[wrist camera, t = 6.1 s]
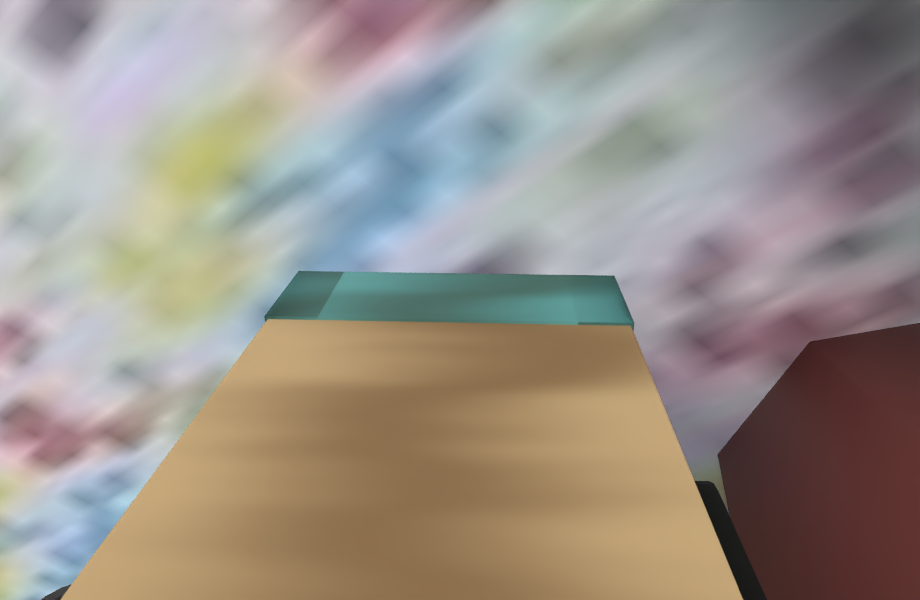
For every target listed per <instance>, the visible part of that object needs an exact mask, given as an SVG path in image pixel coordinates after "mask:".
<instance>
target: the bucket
mask: <svg viewBox="0 0 920 600" xmlns="http://www.w3.org/2000/svg"><path fill="white" fill-rule="evenodd" d="M718 458H719V463H720V468H721V474H722V479H723V484H724V489H725V494H726V499H727V504H728V509H729V514H730V519H731V521H732V523H733V525H734V527H735V530H736V532H737V534H738V536H739V539H740V541H741V543H742V545H743V547H744V550H745V552H746V554H747V556H748V559H749V561H750V563H751V565H752V567H753V570H754V572H755V574H756V576H757V579H758V581H759V583H760V585H761V587H762V590H763V592H764V594H765V596H766V599H767V600H920V323H917V324H911V325H905V326H899V327H893V328H887V329H882V330H876V331H870V332H864V333H858V334H852V335H846V336H841V337H835V338H829V339H823V340H817V341H811V342H809V344H808V345H807V346H806V347H805V348H804V350H803V351H802V352H801V353H800V355H799V356H798V357H797V358H796V359H795V361H794V362H793V363H792V364H791V366H790V367H789V368H788V369H787V370H786V372H785V373H784V374H783V375H782V377H781V378H780V379H779V380H778V381H777V383H776V384H775V385H774V386H773V388H772V389H771V390H770V391H769V392H768V394H767V395H766V396H765V397H764V399H763V400H762V401H761V402H760V403H759V405H758V406H757V407H756V408H755V410H754V411H753V412H752V413H751V414H750V416H749V417H748V418H747V419H746V421H745V422H744V423H743V424H742V425H741V427H740V428H739V429H738V430H737V432H736V433H735V434H734V435H733V436H732V438H731V439H730V440H729V441H728V443H727V444H726V445H725V446H724V447H723V449H722V450H721V451H720V452H719V454H718Z"/></svg>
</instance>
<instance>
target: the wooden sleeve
mask: <svg viewBox="0 0 920 600" xmlns="http://www.w3.org/2000/svg"><path fill="white" fill-rule="evenodd" d="M633 329H634V321H633V319H632V317H631V314H630V312H629V310H628V307H627V305H626V302H625V300H624V298H623V295H622V293H621V291H620V288H619V286H618V284H617V281H616V279H615V277H614V276H595V275H527V274H458V273H389V272H320V271H298V273H297V274H296V275H295V277H294V278H293V279H292V281H291V282H290V283H289V285H288V286H287V287H286V289H285V290H284V291H283V293H282V294H281V295H280V297H279V298H278V299H277V300H276V302H275V303H274V304H273V306H272V307H271V308H270V310H269V311H268V312H267V314H266V315H265V324H264V325H263V326H262V328H261V329H260V330H259V332H258V333H257V334H256V336H255V337H254V338H253V340H252V341H251V343H250V344H249V345H248V347H247V348H246V349H245V351H244V352H243V353H242V355H241V356H240V357H239V359H238V360H237V361H236V363H235V364H234V366H233V367H232V368H231V370H230V371H229V372H228V374H227V375H226V376H225V378H224V379H223V380H222V382H221V383H220V384H219V386H218V387H217V389H216V390H215V391H214V393H213V394H212V395H211V397H210V398H209V399H208V401H207V402H206V403H205V405H204V406H203V407H202V409H201V410H200V412H199V413H198V414H197V416H196V417H195V418H194V420H193V421H192V422H191V424H190V425H189V426H188V428H187V429H186V430H185V432H184V433H183V435H182V436H181V437H180V439H179V440H178V441H177V443H176V444H175V445H174V447H173V448H172V449H171V451H170V452H169V453H168V455H167V456H166V458H165V459H164V460H163V462H162V463H161V464H160V466H159V467H158V468H157V470H156V471H155V472H154V474H153V475H152V476H151V478H150V479H149V481H148V482H147V483H146V485H145V486H144V487H143V489H142V490H141V491H140V493H139V494H138V495H137V497H136V498H135V499H134V501H133V502H132V504H131V505H130V506H129V508H128V509H127V510H126V512H125V513H124V514H123V516H122V517H121V518H120V520H119V521H118V522H117V524H116V525H115V527H114V528H113V529H112V531H111V532H110V533H109V535H108V536H107V537H106V539H105V540H104V541H103V543H102V544H101V545H100V547H99V548H98V550H97V551H96V552H95V554H94V555H93V556H92V558H91V559H90V560H89V562H88V563H87V564H86V566H85V567H84V568H83V570H82V571H81V573H80V574H79V575H78V577H77V578H76V579H75V581H74V582H73V583H72V585H71V586H70V587H69V589H68V590H67V591H66V593H65V594H64V596H63V597H62V598H61V600H743V598H742V596H741V593H740V591H739V589H738V586H737V584H736V581H735V579H734V576H733V574H732V571H731V569H730V567H729V564H728V562H727V559H726V557H725V554H724V552H723V550H722V547H721V545H720V542H719V540H718V537H717V535H716V532H715V530H714V528H713V525H712V523H711V520H710V518H709V515H708V513H707V510H706V508H705V506H704V503H703V501H702V498H701V496H700V493H699V491H698V489H697V486H696V484H695V481H694V479H693V476H692V474H691V471H690V469H689V467H688V464H687V462H686V459H685V457H684V454H683V452H682V449H681V447H680V445H679V442H678V440H677V437H676V435H675V432H674V430H673V428H672V425H671V423H670V420H669V418H668V415H667V413H666V410H665V408H664V406H663V403H662V401H661V398H660V396H659V393H658V391H657V388H656V386H655V384H654V381H653V379H652V376H651V374H650V371H649V369H648V367H647V364H646V362H645V359H644V357H643V354H642V352H641V349H640V347H639V345H638V342H637V340H636V337H635V335H634V332H633Z"/></svg>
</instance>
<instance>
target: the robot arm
mask: <svg viewBox="0 0 920 600" xmlns="http://www.w3.org/2000/svg"><path fill="white" fill-rule="evenodd" d="M695 484H696V486H697V489H698V491H699V493H700V496H701V498H702V501H703V503H704V506H705V508H706V510H707V513H708V515H709V518H710V520H711V523H712V525H713V528H714V530H715V532H716V535H717V537H718V540H719V542H720V545H721V547H722V550H723V552H724V554H725V557H726V559H727V562H728V564H729V567H730V569H731V571H732V574H733V576H734V579H735V581H736V584H737V586H738V589H739V591H740V593H741V596H742V598H743V600H767V599H766V596H765V594H764V592H763V590H762V587H761V585H760V583H759V581H758V579H757V576H756V574H755V572H754V570H753V567H752V565H751V563H750V561H749V559H748V556H747V554H746V552H745V550H744V547H743V545H742V543H741V541H740V539H739V536H738V534H737V532H736V530H735V527H734V525H733V523H732V521H731V519H730V516H729V514H728V512H727V510H726V507H725V505H724V503H723V501H722V499H721V496H720V494H719V492H718V490H717V488H716V487H715V485H714V484H713V483H712V482H710V481H695ZM71 585H72V584H71ZM71 585H68V586H65V587H62V588H60V589H58V590H56V591H54V592H53V593H51V594H49V595H47V596H45V597H44V598H42V599H41V600H61V598H62V597H63V596H64V594H65V593H66V591H67V590H68V589H69V587H70V586H71Z"/></svg>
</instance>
